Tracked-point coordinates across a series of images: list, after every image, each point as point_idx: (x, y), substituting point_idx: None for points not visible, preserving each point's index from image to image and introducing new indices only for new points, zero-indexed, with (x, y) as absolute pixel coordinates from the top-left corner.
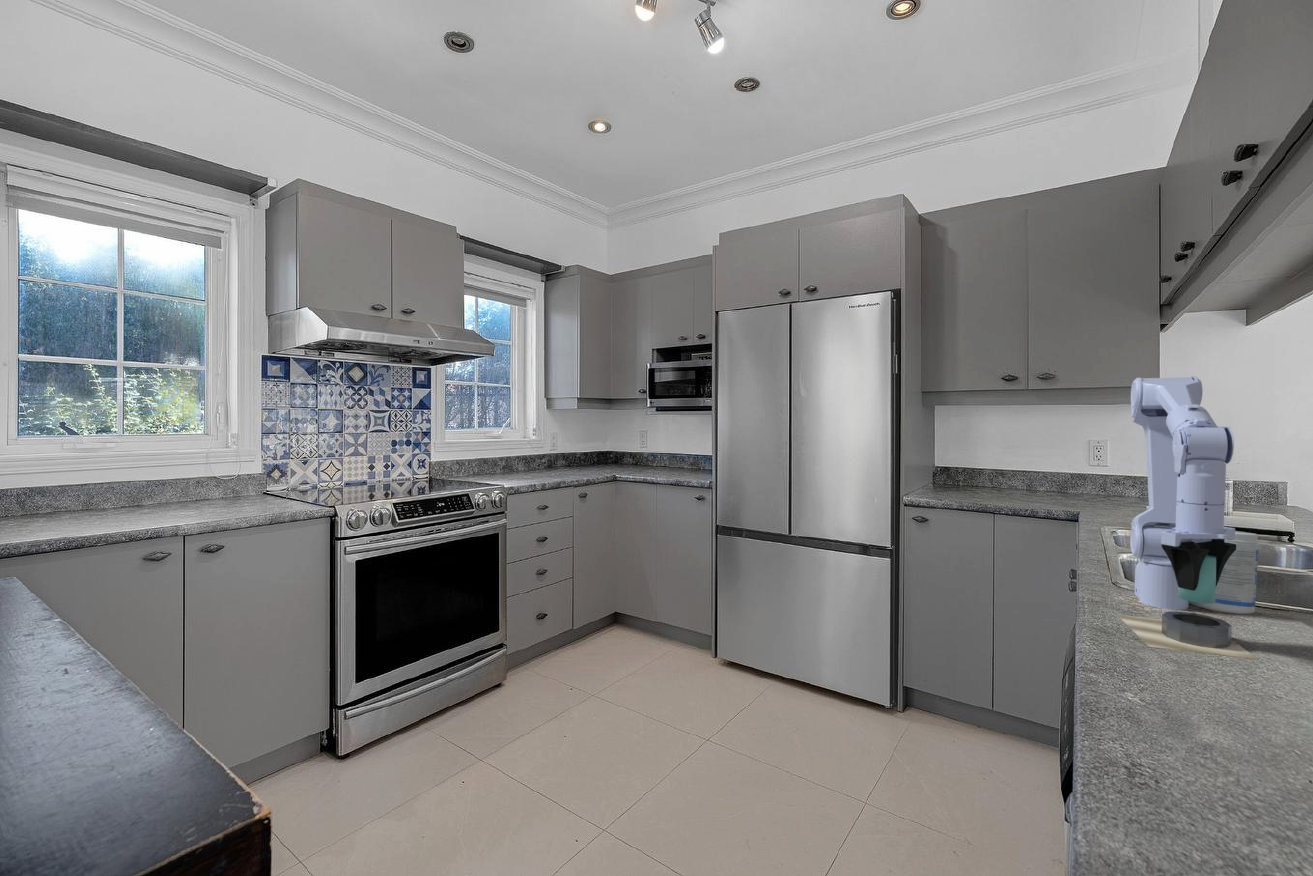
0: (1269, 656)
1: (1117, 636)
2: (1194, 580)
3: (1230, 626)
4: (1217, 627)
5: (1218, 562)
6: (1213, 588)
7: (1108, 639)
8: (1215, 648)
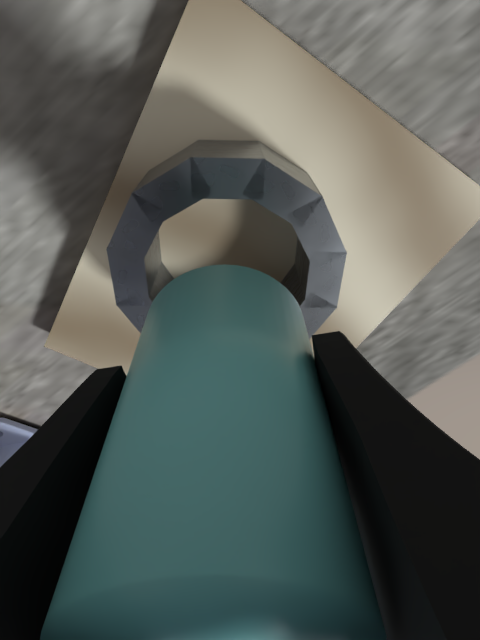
0: (44, 83)
1: (408, 330)
2: (374, 371)
3: (148, 183)
4: (235, 176)
5: (22, 540)
6: (200, 317)
7: (467, 314)
8: (262, 137)
